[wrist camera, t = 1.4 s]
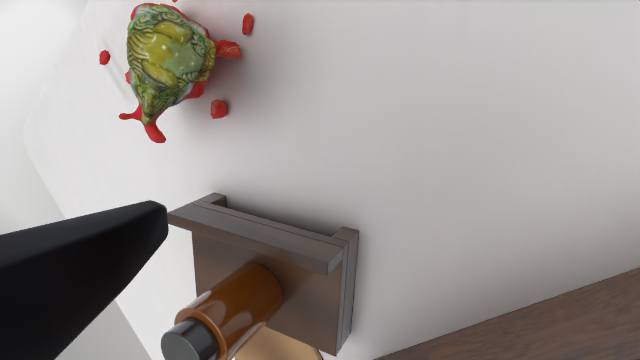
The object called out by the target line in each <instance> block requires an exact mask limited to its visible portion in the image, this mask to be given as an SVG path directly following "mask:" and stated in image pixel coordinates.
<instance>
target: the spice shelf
mask: <svg viewBox="0 0 640 360" xmlns="http://www.w3.org/2000/svg"><path fill="white" fill-rule="evenodd" d="M167 217H168V224H171V225H174V226H177V227H180V228H183V229H186V230H189V231H192V242H193V255H194V268H195V281H196V294H197V298H198V297H199V296H201V295H202V294H203V293H205V292H206V291H208V290H209V289H210V288H212V287H213V286H214V285H216V284H217V283H218V282H220V281H221V280H223V279H224V278H225V277H227V276H228V275H229V274H231V273H232V272H233V271H235V270H236V269H238V268H239V267H240V266H242V265H243V264H246V263H256V264H259V265H262V266H264V267H265V268H267V269H268V270H269V271H270V272H271V273H272V274H273V275H274V276H275V277H276V279H277V280H278V282H279V284H280V286H281V289H282V293H283V303H282V306H281V308H280V310H279V311H278V312H277V313H276V314H275V315H274V316H273V317H272V318H271V319H270V320H269V321H268V322H267V323H266V325H265V327H267V328H270V329H272V330H274V331H277V332H279V333H281V334H284V335H286V336H288V337H291V338H293V339H295V340H298V341H300V342H302V343H305V344H307V345H310V346H312V347H314V348H317V349H319V350H321V351H324V352H326V353H328V354H331V355H333V356H336V355H337V353H338V352H339V350H340V349H341V347H342V345H343V344H344V342H345V341H346V339H347V338H348V336H349V334H350V332H351V320H352V309H353V297H354V285H355V273H356V261H357V250H358V238H359V231H357V230H354V229H350V228H346V227H341V228H340V229H339V230H338V231H337V232H336V233H335V234H334V235H333V236H332V237H329V236H325V235H322V234H318V233H315V232H311V231H307V230H304V229H300V228H297V227H293V226H290V225H286V224H282V223H279V222H275V221H272V220H268V219H264V218H261V217H257V216H254V215H250V214H246V213H243V212H239V211H236V210H232V209H228V208H226V196H224V195H220V194H216V193H212V194H210V195H208V196H205V197H203V198H201V199H198V200H196V201H194V202H191V203H190V204H187V205H184V206H182V207H180V208H178V209H175V210H173V211H171V212H168V213H167Z"/></svg>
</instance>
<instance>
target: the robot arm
mask: <svg viewBox="0 0 640 360" xmlns="http://www.w3.org/2000/svg"><path fill="white" fill-rule="evenodd" d="M167 235H168V217H167V209H166V207H165V206H164V205H162V204H160V203H157V202H155V201H151V200H149V201H145V202H140V203H136V204H132V205H127V206H123V207H119V208H114V209H110V210H106V211H101V212H97V213H93V214H89V215H84V216H80V217H76V218H71V219H67V220H63V221H58V222H54V223H50V224H45V225H41V226H37V227H33V228H29V229H24V230H20V231H15V232H11V233H7V234H3V235H0V360H55V359H56V357H58V356H59V355H60V353H61V352H62V351H63V350H64V349H65V348H66V347H67V346H68V345H69V344H70V343H71V342H72V341H73V340H74V339H75V338H76V337H77V336H78V335H79V334H80V333H81V332H82V331H83V330H84V329H85V328H86V327H87V326H88V325H89V324H90V323H91V322H92V321H93V320H94V319H95V318H96V317H97V316H98V315H99V314H100V313H101V312H102V311H103V310H104V309H105V308H106V307H107V306H108V305H109V304H110V303H111V302H112V301H113V300H114V299H115V298H116V297H117V296H118V295H119V294H120V293H121V292H122V291H123V290H124V289H125V288H126V286H127V285H128V284H129V283H130V282H131V281H132V280H133V278H134V277H135V276H136V275H137V274H138V272H139V271H140V270H141V269H142V267H143V266H144V265H145V264H146V263H147V261H148V260H149V259H150V258H151V256H152V255H153V254H154V253H155V251H156V250H157V249H158V248H159V247H160V245H161V244H162V243H163V242H164V240H165V239H166V237H167Z"/></svg>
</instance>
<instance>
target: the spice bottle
mask: <svg viewBox="0 0 640 360" xmlns="http://www.w3.org/2000/svg"><path fill="white" fill-rule="evenodd" d="M282 303H283V293H282V289H281V286H280V284H279V282H278V280H277V279H276V277H275V276H274V275H273V274H272V273H271V272H270V271H269V270H268V269H267V268H265V267H264V266H262V265H259V264H256V263H246V264H243V265H242V266H240V267H239V268H238V269H236V270H235V271H233V272H232V273H231V274H229V275H228V276H227V277H225V278H224V279H223V280H221V281H220V282H218V283H217V284H216V285H214V286H213V287H212V288H210V289H209V290H208V291H206V292H205V293H203V294H202V295H201V296H199V297H198V298H197V299H195V300H194V301H192V302H191V303H190V304H188V305H187V306H186V307H184V308H183V309H182V310H180V311H179V312H178V314H177V315H176V318H175V323H174V327H173V328H171V329H170V330H169V331H167V332H166V333H165V334H164V335H163V337H162V339H161V350H162V353H163V356H164V358H165V360H231V359H232V358H233V357H234V356H235V355H236V354H237V353H238V352H239V351H240V350H241V349H242V348H243V347H244V346H245V345H246V344H247V343H248V342H249V341H250V340H251V339H252V338H253V337H254V336H255V335H256V334H257V333H258V332H259V331H260V330H261V329H262V328H263V327H264V326H265V325H266V323H267V322H268V321H269V320H270V319H271V318H272V317H273V316H274V315H275V314H276V313H277V312H278V311H279V310H280V308H281V306H282Z"/></svg>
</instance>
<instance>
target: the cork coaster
mask: <svg viewBox="0 0 640 360" xmlns="http://www.w3.org/2000/svg"><path fill="white" fill-rule="evenodd" d="M234 357H235V360H322V358H321V356H320V354H319V352H318V350H317V349H316V348H314V347H312V346H310V345H307V344H305V343H302V342H300V341H298V340H295V339H293V338H291V337H288V336H286V335H284V334H281V333H279V332H277V331H274V330H272V329H270V328H267V327H265V326H264V327H263V328H262V329H261V330H260V331H259V332H258V333H257V334H256V335H255V336H254V337H253V338H252V339H251V340H250V341H249V342H248V343H247V344H246V345H245V346H244V347H243V348H242V349H241V350H240V351H239V352H238V353H237V354H236V355H235V356H234Z"/></svg>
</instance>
